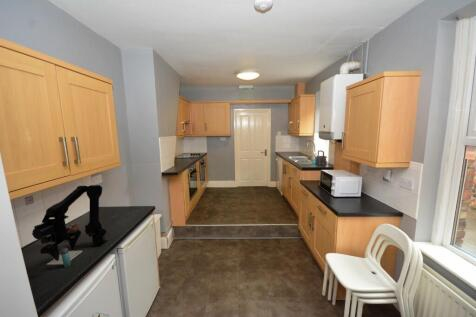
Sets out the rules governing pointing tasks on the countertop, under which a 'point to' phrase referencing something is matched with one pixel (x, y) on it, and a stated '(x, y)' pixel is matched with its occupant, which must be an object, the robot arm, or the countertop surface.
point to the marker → (65, 257)
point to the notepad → (60, 261)
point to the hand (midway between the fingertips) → (65, 255)
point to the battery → (73, 227)
